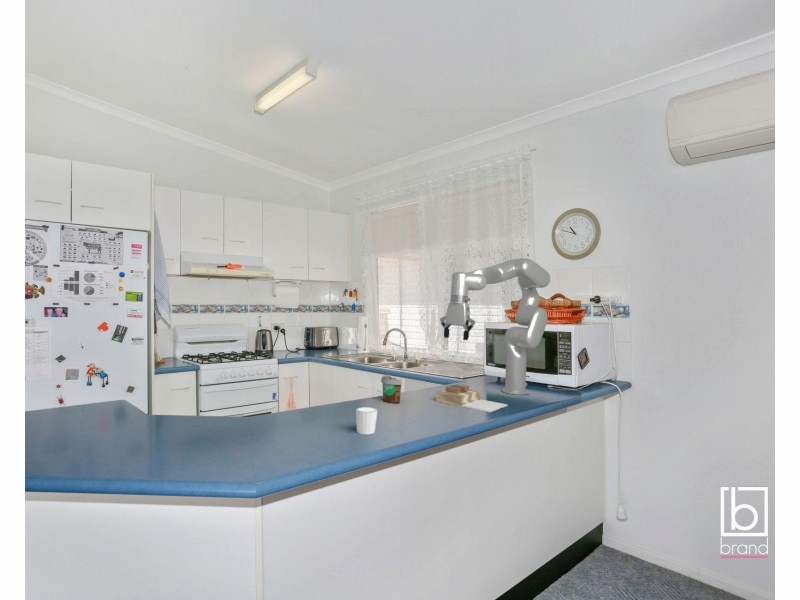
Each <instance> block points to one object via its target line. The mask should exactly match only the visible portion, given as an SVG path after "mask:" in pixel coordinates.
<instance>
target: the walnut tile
mask: <svg viewBox="0 0 800 600" xmlns="http://www.w3.org/2000/svg"><path fill="white" fill-rule="evenodd" d="M445 389H446V392H451V393H456V394H459V393H463V392H467V391H469V389H470V386H468V385H463V384H452V385H449V386H446V387H445Z"/></svg>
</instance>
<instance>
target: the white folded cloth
mask: <svg viewBox="0 0 800 600" xmlns="http://www.w3.org/2000/svg"><path fill="white" fill-rule="evenodd" d="M462 407H463V408H467V409H470V410H475V411H480V412H486V413H492V412H495V411H497V410H501V409H503V408H505V407H508V404H506V403H501V402H496V401H490V400H486V399H481V398H480V400H477V401H473V402H470V403H467V404H464V405H462V406H461V408H462ZM500 408H501V409H500Z"/></svg>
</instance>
